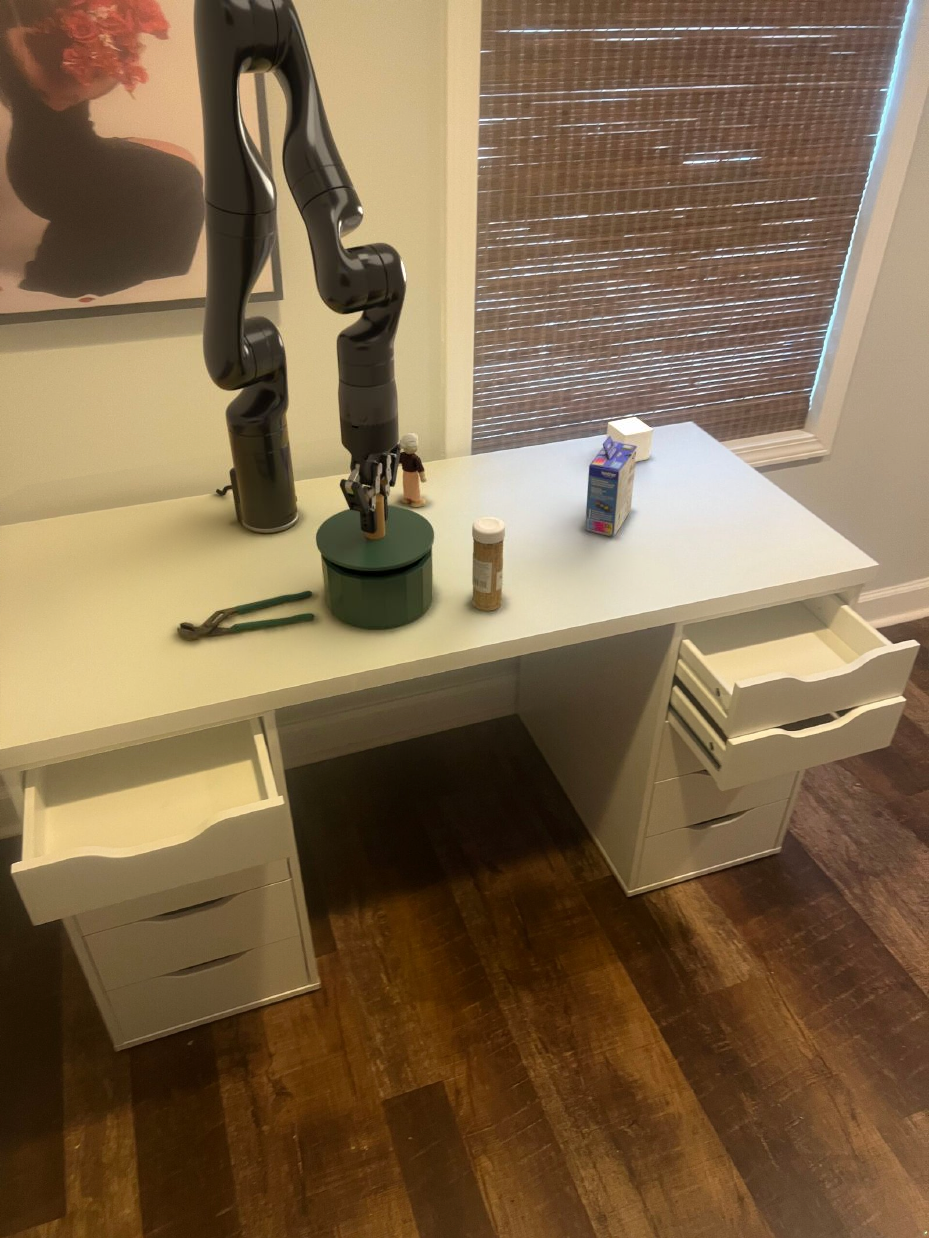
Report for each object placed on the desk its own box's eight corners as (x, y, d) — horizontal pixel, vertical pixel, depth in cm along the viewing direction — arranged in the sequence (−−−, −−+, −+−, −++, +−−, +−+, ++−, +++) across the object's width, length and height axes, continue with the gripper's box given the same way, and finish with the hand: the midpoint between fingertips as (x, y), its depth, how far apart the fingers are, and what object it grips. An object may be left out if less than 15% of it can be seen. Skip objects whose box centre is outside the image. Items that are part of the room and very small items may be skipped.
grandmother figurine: (436, 502, 157) (435, 434, 149) (423, 511, 154) (421, 443, 146) (399, 490, 160) (397, 423, 152) (387, 499, 157) (383, 432, 150)
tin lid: (294, 558, 124) (288, 512, 120) (351, 502, 137) (348, 459, 132) (403, 586, 119) (401, 539, 115) (452, 526, 132) (452, 482, 127)
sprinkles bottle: (508, 605, 132) (511, 526, 124) (482, 615, 130) (484, 535, 122) (490, 590, 135) (492, 512, 127) (465, 600, 133) (466, 521, 125)
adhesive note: (621, 465, 168) (625, 435, 165) (604, 451, 173) (607, 422, 169) (648, 459, 170) (653, 429, 167) (631, 445, 175) (635, 416, 171)
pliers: (312, 595, 134) (311, 588, 134) (321, 619, 129) (320, 612, 129) (175, 620, 129) (174, 612, 128) (180, 646, 124) (178, 638, 123)
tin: (307, 614, 130) (301, 565, 125) (357, 559, 142) (354, 512, 137) (404, 640, 126) (402, 590, 121) (449, 582, 137) (449, 534, 132)
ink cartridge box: (600, 503, 157) (609, 426, 148) (631, 510, 155) (641, 432, 146) (581, 530, 149) (589, 450, 141) (614, 538, 148) (623, 457, 139)
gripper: (367, 385, 122) (373, 497, 133) (315, 426, 112) (326, 544, 122) (418, 394, 120) (420, 508, 130) (369, 437, 110) (375, 556, 120)
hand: (374, 525), depth 126 cm, fingers closed on tin lid, 3 cm apart
